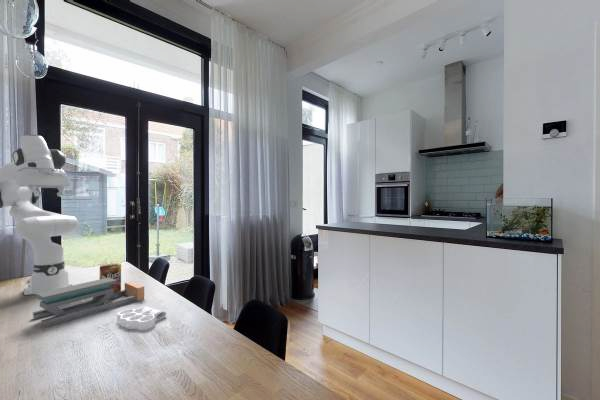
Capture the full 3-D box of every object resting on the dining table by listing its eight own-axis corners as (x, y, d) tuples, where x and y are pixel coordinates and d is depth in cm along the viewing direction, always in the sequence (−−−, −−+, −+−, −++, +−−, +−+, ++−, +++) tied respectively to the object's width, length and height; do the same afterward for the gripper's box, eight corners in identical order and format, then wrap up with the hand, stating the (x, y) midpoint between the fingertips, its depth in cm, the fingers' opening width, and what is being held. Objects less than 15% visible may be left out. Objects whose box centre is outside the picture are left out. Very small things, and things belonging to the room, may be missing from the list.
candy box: (99, 297, 130) (99, 266, 130) (99, 295, 134) (99, 264, 134) (121, 294, 135) (121, 263, 135) (121, 291, 139) (121, 262, 139)
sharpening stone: (43, 326, 101) (43, 297, 101) (36, 321, 105) (36, 293, 105) (116, 304, 122) (116, 280, 122) (108, 300, 127) (108, 277, 127)
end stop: (124, 294, 134) (124, 282, 134) (131, 293, 137) (131, 281, 137) (137, 300, 126) (137, 288, 126) (144, 299, 128) (144, 286, 128)
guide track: (32, 318, 107) (32, 312, 107) (124, 294, 134) (124, 289, 134) (41, 328, 99) (41, 321, 99) (137, 300, 126) (137, 295, 126)
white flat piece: (171, 319, 108) (135, 335, 95) (143, 310, 116) (106, 325, 103) (171, 310, 108) (135, 326, 95) (143, 303, 116) (106, 316, 103)
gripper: (60, 172, 135) (68, 198, 134) (9, 168, 115) (18, 198, 114) (69, 167, 134) (77, 193, 133) (20, 162, 114) (29, 193, 113)
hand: (49, 196), depth 124 cm, fingers open, 8 cm apart
